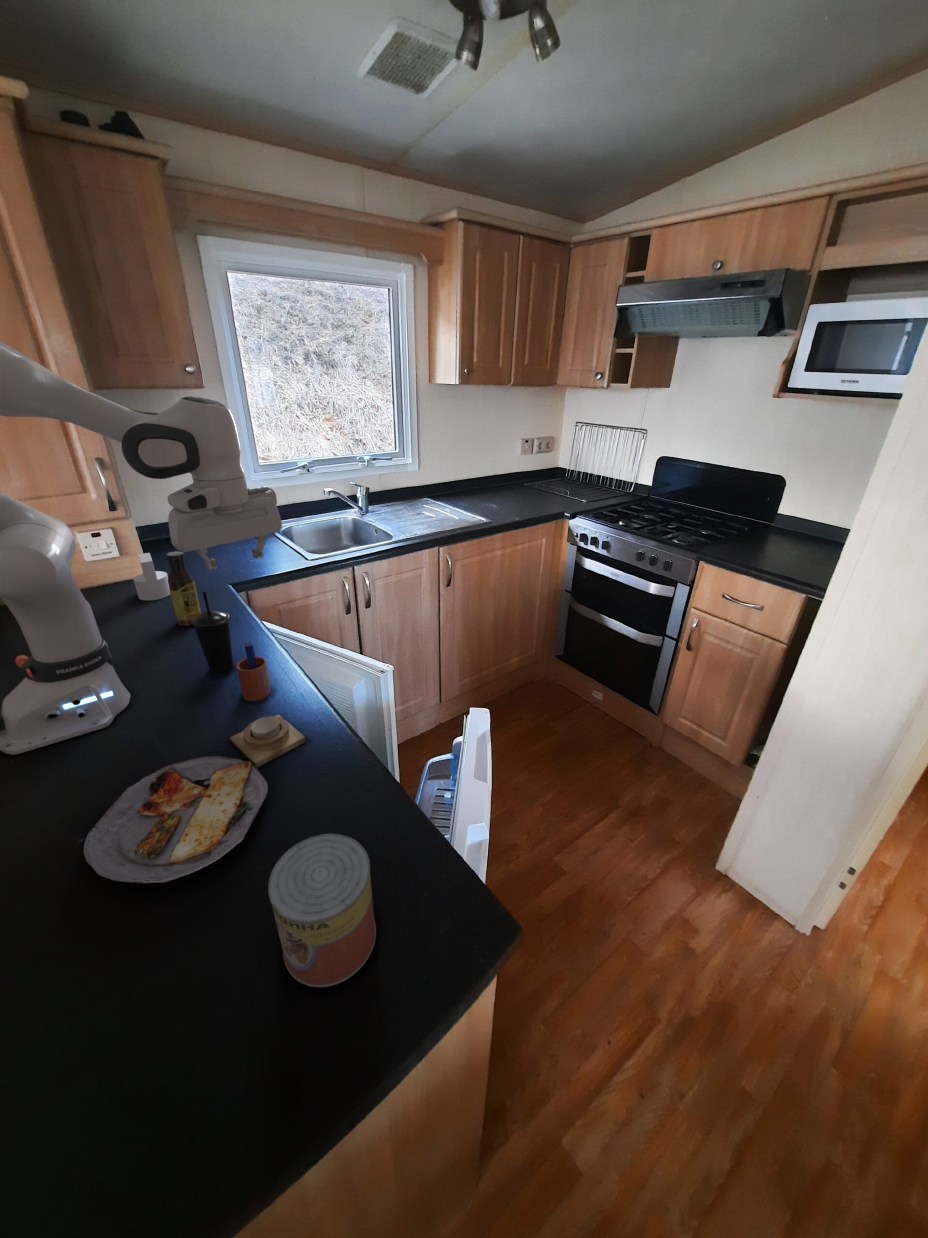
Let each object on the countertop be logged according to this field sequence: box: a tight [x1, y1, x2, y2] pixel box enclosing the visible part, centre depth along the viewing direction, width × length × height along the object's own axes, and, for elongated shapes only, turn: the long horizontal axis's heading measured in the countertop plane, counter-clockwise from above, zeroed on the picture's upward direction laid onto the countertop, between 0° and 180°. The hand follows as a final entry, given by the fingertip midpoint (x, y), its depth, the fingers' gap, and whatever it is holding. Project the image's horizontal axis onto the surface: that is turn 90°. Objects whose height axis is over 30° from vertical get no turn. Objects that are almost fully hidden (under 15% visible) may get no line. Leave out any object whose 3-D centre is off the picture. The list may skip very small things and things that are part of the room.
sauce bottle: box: [166, 550, 202, 627], centre depth 136 cm, size 7×6×20 cm
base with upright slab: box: [132, 552, 171, 601], centre depth 154 cm, size 9×9×12 cm
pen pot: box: [236, 656, 272, 702], centre depth 108 cm, size 6×6×8 cm
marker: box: [244, 642, 257, 670], centre depth 107 cm, size 2×2×12 cm
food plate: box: [83, 755, 269, 884], centre depth 79 cm, size 25×23×4 cm
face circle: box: [251, 716, 280, 740], centre depth 95 cm, size 5×5×2 cm
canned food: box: [267, 833, 377, 988], centre depth 61 cm, size 11×11×12 cm
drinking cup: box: [191, 591, 234, 676], centre depth 114 cm, size 8×8×20 cm
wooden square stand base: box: [229, 714, 307, 769], centre depth 95 cm, size 10×10×3 cm
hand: (235, 562), depth 100 cm, fingers open, 8 cm apart
